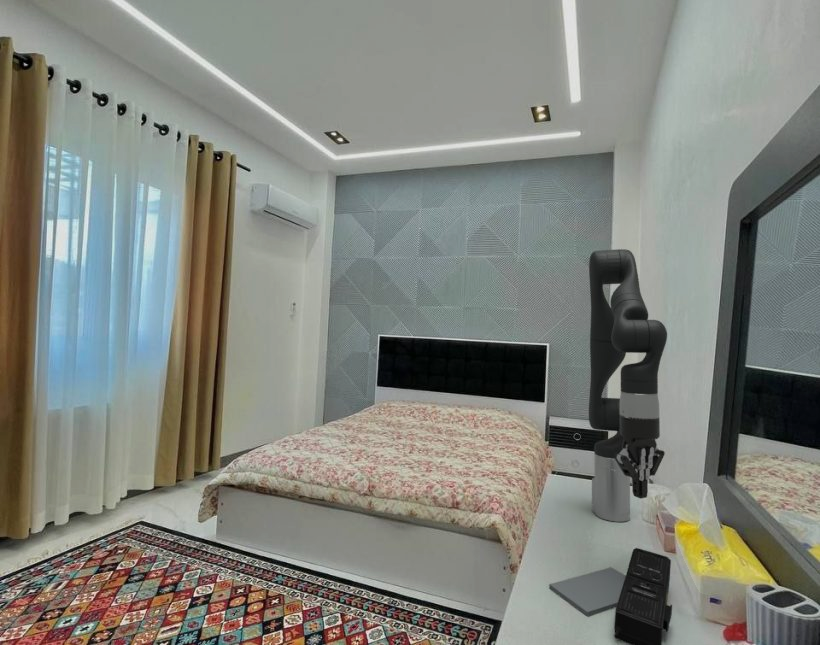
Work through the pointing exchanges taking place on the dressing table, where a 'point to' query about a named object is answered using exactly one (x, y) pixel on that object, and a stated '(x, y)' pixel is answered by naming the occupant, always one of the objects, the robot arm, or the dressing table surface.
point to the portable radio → (644, 600)
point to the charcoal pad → (592, 590)
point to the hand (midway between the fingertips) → (640, 496)
